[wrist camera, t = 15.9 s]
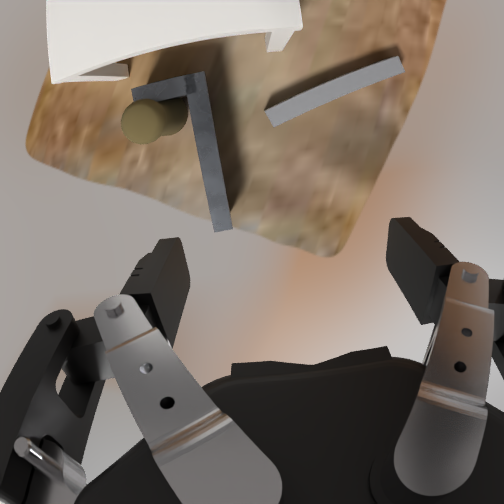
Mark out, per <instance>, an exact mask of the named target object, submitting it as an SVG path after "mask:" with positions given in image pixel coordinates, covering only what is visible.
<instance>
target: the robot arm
mask: <svg viewBox="0 0 504 504" xmlns="http://www.w3.org/2000/svg"><path fill="white" fill-rule="evenodd" d="M386 262H387V267H388V270H389V271H390V273H391V275H392V276H393V278H394V279H395V281H396V283H397V284H398V286H399V288H400V289H401V291H402V292H403V294H404V296H405V298H406V299H407V301H408V303H409V304H410V306H411V308H412V310H413V311H414V313H415V315H416V317H417V318H418V320H419V322H420V324H421V325H423V324H428V323H434V324H435V326H434V329H433V332H432V335H431V338H430V342H429V344H428V347H427V351H426V354H425V357H424V360H423V363H422V364H421V363H419V362H416V361H413V360H410V359H405V358H399V357H391V354H390V352H389V349H388V347H387V346H384V347H379V348H373V349H367V350H360V351H354V352H350V353H347V354H344V355H341V356H339V357H336V358H333V359H330V360H327V361H324V362H321V363H318V364H315V365H305V364H295V363H284V362H276V361H263V362H248V363H233V364H232V367H231V375H229V376H225V377H222V378H220V379H216V380H214V381H212V382H210V383H208V384H206V385H204V386H203V387H201V386H200V385H199V384H198V383H197V381H196V380H195V379H194V378H193V376H192V375H191V374H190V372H189V371H188V370H187V368H186V367H185V366H184V365H183V363H182V362H181V360H180V359H179V358H178V356H177V355H176V354H175V352H174V351H173V350H172V348H173V345H174V341H175V337H176V334H177V330H178V327H179V323H180V319H181V316H182V312H183V309H184V305H185V302H186V299H187V295H188V292H189V289H190V275H189V270H188V267H187V262H186V258H185V254H184V250H183V246H182V242H181V240H180V238H179V237H177V238H168V239H160V240H159V241H158V243H157V245H156V246H155V248H154V250H153V252H152V253H148V254H147V255H145V256H144V257H143V258H142V259H140V260H139V262H138V264H137V265H136V267H135V270H133V272H132V273H131V277H129V279H128V280H127V282H126V284H125V286H124V287H123V289H122V291H121V293H120V294H119V295H116V296H112V297H110V298H107V299H106V300H104V301H103V302H101V303H100V304H99V305H98V306H97V307H96V309H95V311H94V316H93V317H89V318H85V319H82V320H78V321H75V319H74V318H73V315H72V313H71V312H70V311H68V310H64V309H63V310H57V311H54V312H52V313H50V314H48V315H47V316H46V317H44V318H43V319H42V321H41V322H40V323H39V325H38V326H37V328H36V330H35V331H34V333H33V334H32V336H31V338H30V339H29V341H28V343H27V344H26V346H25V348H24V350H23V351H22V353H21V355H20V357H19V358H18V360H17V362H16V363H15V365H14V367H13V369H12V371H11V373H10V375H9V377H8V378H7V380H6V382H5V384H4V386H3V388H2V390H1V392H0V504H504V412H502V411H500V410H499V409H497V408H496V407H494V406H492V405H490V404H489V403H487V402H486V401H485V399H486V393H487V388H488V381H489V374H490V365H491V357H492V358H493V360H494V362H495V364H496V366H497V367H498V369H499V371H500V373H501V375H502V377H503V379H504V280H498V279H489V277H488V274H487V273H486V271H485V270H484V269H482V268H481V267H479V266H478V265H475V264H472V263H469V262H459V261H458V260H457V259H456V258H455V257H454V256H453V254H451V252H450V251H449V250H448V249H447V248H445V246H444V245H443V244H442V243H441V242H439V240H438V239H437V238H436V237H435V236H434V235H433V234H432V233H430V232H428V231H426V230H424V229H423V228H421V227H419V226H418V224H416V223H415V222H414V221H413V220H412V219H411V218H410V217H404V218H403V217H402V218H392V219H391V220H390V223H389V231H388V242H387V251H386ZM61 368H62V370H63V371H64V372H65V374H66V375H67V376H66V378H65V380H64V383H63V385H62V388H61V390H60V392H59V395H58V394H57V392H56V386H55V384H56V379H57V377H58V375H59V373H60V370H61ZM110 378H115V379H116V381H117V383H118V385H119V388H120V390H121V392H122V394H123V396H124V398H125V401H126V402H127V405H128V407H129V409H130V411H131V413H132V415H133V417H134V419H135V421H136V423H137V425H138V427H139V429H140V431H141V432H142V434H143V436H144V438H143V439H142V440H140V441H139V442H138V443H137V444H136V445H135V446H134V447H132V448H131V449H130V450H129V451H128V452H126V453H125V454H124V455H123V456H122V457H121V458H119V459H118V460H117V461H116V462H115V463H113V464H112V465H111V466H110V467H109V468H107V469H106V470H105V471H104V472H102V473H101V474H100V475H99V476H98V477H96V478H95V479H94V480H92V482H90V483H89V484H88V485H87V484H86V474H85V471H84V469H83V467H82V466H81V463H82V459H83V455H84V451H85V447H86V443H87V440H88V436H89V433H90V429H91V426H92V422H93V419H94V415H95V412H96V409H97V405H98V402H99V399H100V396H101V393H102V389H103V386H104V383H105V380H106V379H110Z"/></svg>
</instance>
